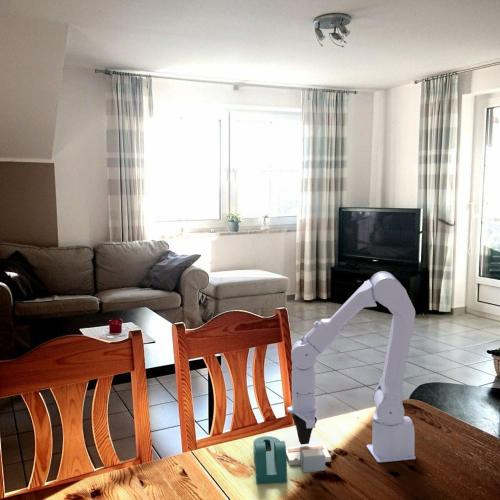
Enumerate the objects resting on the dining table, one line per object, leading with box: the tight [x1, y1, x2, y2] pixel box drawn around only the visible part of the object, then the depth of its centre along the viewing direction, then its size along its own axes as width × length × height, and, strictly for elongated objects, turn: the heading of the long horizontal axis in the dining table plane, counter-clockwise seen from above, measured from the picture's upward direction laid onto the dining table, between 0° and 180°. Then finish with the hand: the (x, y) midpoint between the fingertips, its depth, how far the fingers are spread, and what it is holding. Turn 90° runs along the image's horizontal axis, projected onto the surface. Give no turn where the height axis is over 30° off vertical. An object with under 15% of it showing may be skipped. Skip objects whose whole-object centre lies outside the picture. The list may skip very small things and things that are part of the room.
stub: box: [299, 448, 326, 473], centre depth 126 cm, size 5×4×4 cm
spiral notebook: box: [286, 444, 332, 466], centre depth 131 cm, size 10×6×1 cm, turn 98°
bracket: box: [253, 435, 288, 485], centre depth 128 cm, size 18×7×8 cm, turn 2°
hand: (304, 442), depth 134 cm, fingers closed
